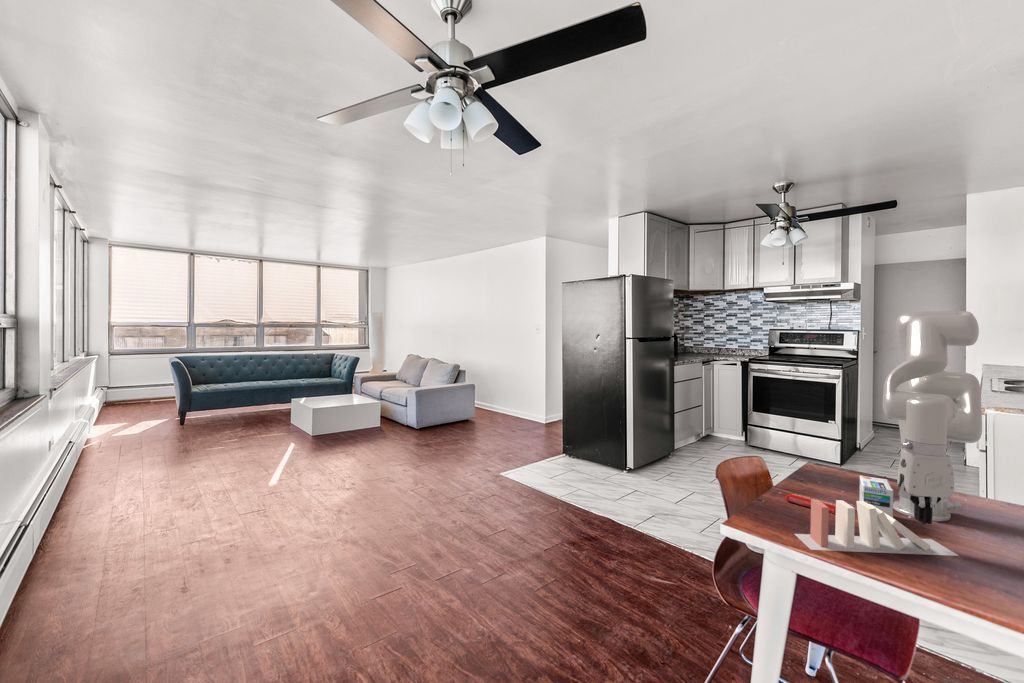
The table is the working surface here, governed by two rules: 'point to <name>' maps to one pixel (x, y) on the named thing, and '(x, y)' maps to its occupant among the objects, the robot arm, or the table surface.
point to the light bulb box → (877, 493)
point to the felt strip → (884, 546)
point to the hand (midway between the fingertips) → (922, 521)
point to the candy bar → (808, 502)
